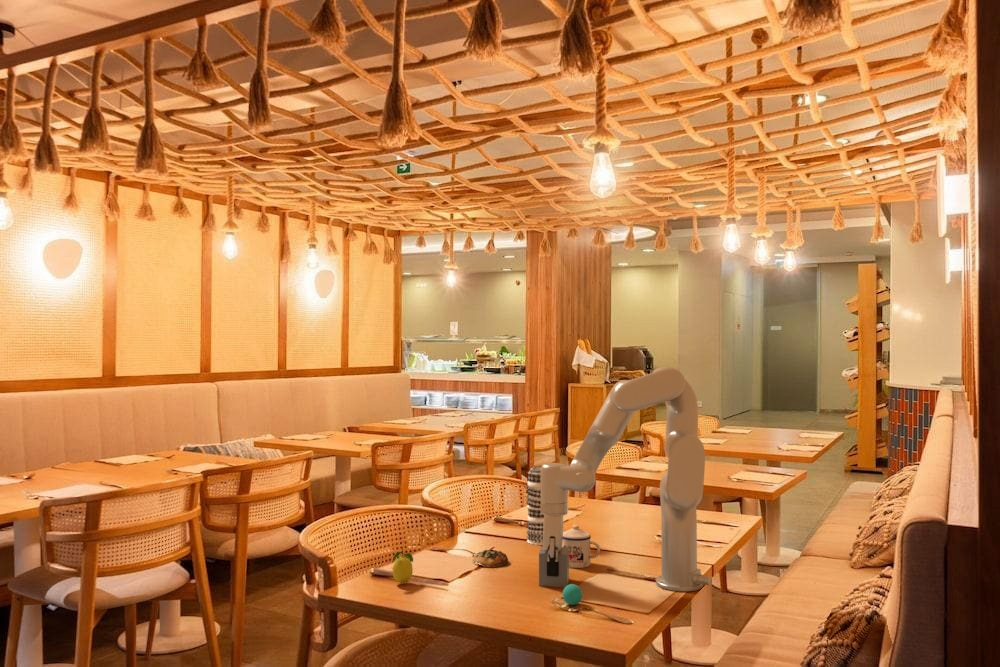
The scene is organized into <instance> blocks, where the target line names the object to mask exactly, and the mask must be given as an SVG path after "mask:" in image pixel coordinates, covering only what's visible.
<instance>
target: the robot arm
mask: <svg viewBox="0 0 1000 667" xmlns="http://www.w3.org/2000/svg"><path fill="white" fill-rule="evenodd" d="M663 403H665V407H666V426H665V437H664V438H665V440H664V446H663V448H664V453H665V455H666V457H667V459H668V461H667V471H666V472H665V473H664V474H663V476H662V477H661V478H660V483H659V498H660V499H659V500H660V518H661V519H660V522H661V523H660V525H661V526H660V530H661V532H660V533H661V534H660V536H661V537H660V538H661V540H660V542H661V543H660V546H661V554H660V555H661V557H660V558H661V559H660V561H661V562H660V563H661V575H659V576H657V577H656V578H655V584H656V585H657V586H658V587H659V586H660V588H662V589H665V590H668V591H674V592H694V591H699V590H700V589H702V588H703V587H704V585H706V586H710V585H711V582H712V581H711V580H712V579H711V576H710V575H705V574H704V575H703V574H702V572H701V568H698V551H697V550H698V538H697V537H698V535H697V534H698V533H697V532H698V528H697V527H698V524H697V523H698V518H697V506H698V505H700V502H701V501H702V499H703V493H704V485H705V484H704V483H705V469H706V468H705V465H706V451H705V446H704V444H703V442H702V440H701V439H700V438H699V432H698V431H699V404H698V399H697V396H696V393H695V391H694V389H693V388H692V386H691V384H690V383H689V382H688V380H687V379H685V376H684V375H683V373H682V372H681V371H680V369H679V370H678V369H677V368H675V367H670V366H661V367H660V366H659V367H658V368H656V369H654V370H653V371H652V372H651V373H648V374H645V375H641V376H639V377H638V376H637V377H635V378H632V379H621V380H619V381H617V382H616V383H615V384H614V385H613V386H612V387H611V390H610V391H609V393H608V395H607V396H606V399H605V401H604V402H603V404H602V406H601V408H600V410H599V412H598V413H597V415H596V417H595V418H594V420H593V422H592V425H591V426H590V428H589V429H588V431H587V434H586V435H585V437H584V439H583V440H582V443H581V445H580V446H579V448H578V450H577V452H576V453H575V455H574V457H573V459H572V461H571V463H570V464H569V465H566V464H564V463H560V462H548V463H544V464H542V465H541V466H540V467H541V514H543V515H544V524H543V545H542V546H543V551H546V550H547V549H548V558H547V576H554V577H558V576H559V561H558V552H559V551H560V550H561V547H562V540H563V532H564V516H566V515H568V513H569V512H568V509H569V508H568V506H569V505H568V491H571V492H578V493H585V492H586V493H587V492H589V491H590V490H591V489H593V488H594V486H595V484H596V478H597V477H596V473H597V470H598V468H599V467H600V465H601V463H602V461H603V460H604V458H605V456H606V455H607V454H608V452H609V451H610V450H611V449H612V448H613V447H614V446H615V445H617V444H618V442H619V440H620V439H621V437H622V435H623V434H624V432H625V429H626V428H627V426H628V424H629V422H630V420H631V418H632V417H633V415H634V413H635V412H638V411H640V410H644V409H648V408H650V407H653V406H657V405H661V404H663ZM554 549H557V550H554ZM555 553H556V555H555Z"/></svg>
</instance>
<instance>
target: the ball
mask: <svg viewBox="0 0 1000 667" xmlns="http://www.w3.org/2000/svg"><path fill="white" fill-rule="evenodd" d="M562 597H563V598H562V599H563V601H564V602H565V603H566V604H567V605H569V604H570V606H575V605H578V604H579V603H580V602H581V601H582V599H583V591H582V589H581V588H580V586H578V585H577V584H574V583H570V584H568V585H567V586H566V587H563V591H562Z"/></svg>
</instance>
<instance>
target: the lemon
mask: <svg viewBox="0 0 1000 667" xmlns="http://www.w3.org/2000/svg"><path fill="white" fill-rule="evenodd" d="M401 548H402V550H401V551H397V552H396V553H395V554H394V555H393V558H392V561H391V564H393V565H392V576H393V579H394V580H395V581H396V582H399V583H400V584H402V585H405V583H406V582H408V581H409V580H411V578H412V576H413V570H414V569H413V563H414V557H413V555H412V553H410V552H408V553H405V552H404V547H401ZM400 555H401V556H400ZM398 556H400V557H398ZM393 562H394V563H393Z"/></svg>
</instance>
